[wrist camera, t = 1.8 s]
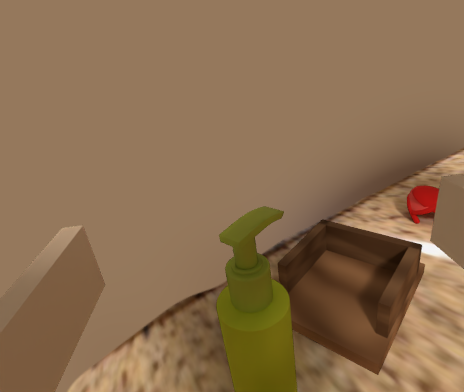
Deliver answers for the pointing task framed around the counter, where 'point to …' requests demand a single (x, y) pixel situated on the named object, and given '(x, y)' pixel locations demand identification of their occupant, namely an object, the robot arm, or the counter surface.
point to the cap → (422, 201)
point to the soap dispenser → (255, 312)
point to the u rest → (351, 289)
